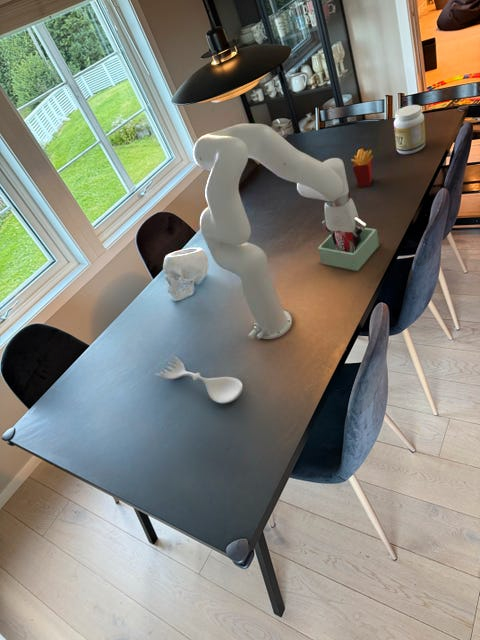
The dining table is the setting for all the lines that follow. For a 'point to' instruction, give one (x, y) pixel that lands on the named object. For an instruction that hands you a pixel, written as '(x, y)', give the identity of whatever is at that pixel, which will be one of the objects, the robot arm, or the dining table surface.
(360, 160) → the french fries
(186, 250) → the skull planter
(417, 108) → the supplement tub
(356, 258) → the open rectangular box
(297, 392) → the dining table surface
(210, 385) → the spoon
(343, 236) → the soda can
